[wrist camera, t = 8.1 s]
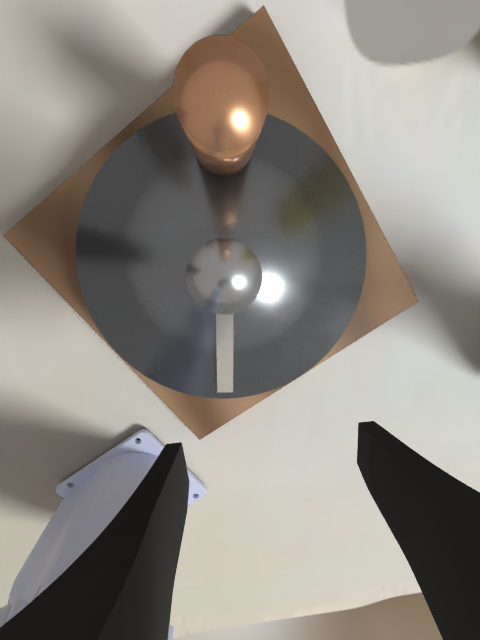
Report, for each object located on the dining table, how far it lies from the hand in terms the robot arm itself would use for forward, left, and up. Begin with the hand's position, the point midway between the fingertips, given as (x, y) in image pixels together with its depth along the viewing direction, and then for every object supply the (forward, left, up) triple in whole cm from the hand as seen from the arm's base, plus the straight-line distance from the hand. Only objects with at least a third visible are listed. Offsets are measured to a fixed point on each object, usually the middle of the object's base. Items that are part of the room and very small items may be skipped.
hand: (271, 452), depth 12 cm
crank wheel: (+2, +6, -8) cm, 10 cm away
